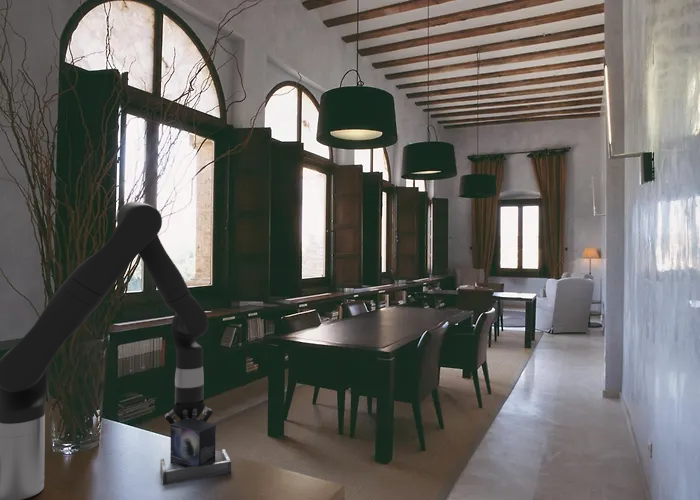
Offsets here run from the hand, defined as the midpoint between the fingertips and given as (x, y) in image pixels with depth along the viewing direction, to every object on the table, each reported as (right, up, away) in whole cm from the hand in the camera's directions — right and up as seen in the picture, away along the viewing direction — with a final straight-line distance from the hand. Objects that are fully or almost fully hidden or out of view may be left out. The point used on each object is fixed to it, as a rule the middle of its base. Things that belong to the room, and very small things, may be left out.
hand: (188, 445), depth 138 cm
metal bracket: (+5, -2, -12) cm, 13 cm away
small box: (+3, -2, -7) cm, 8 cm away
